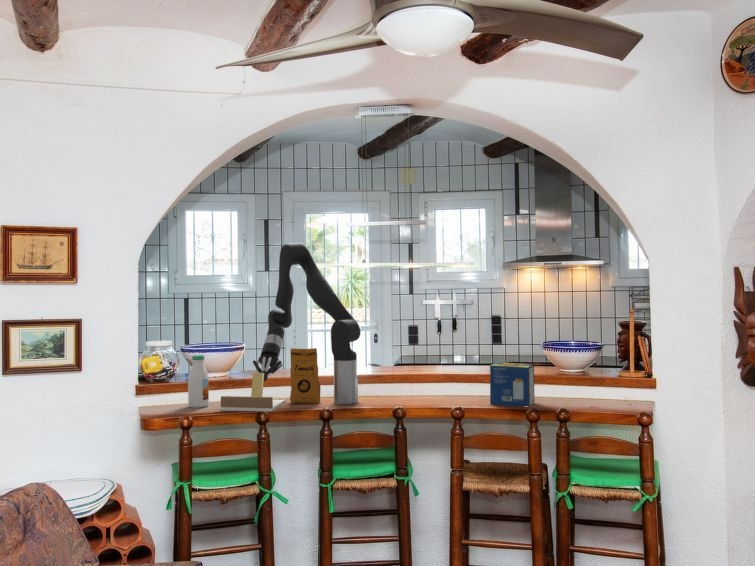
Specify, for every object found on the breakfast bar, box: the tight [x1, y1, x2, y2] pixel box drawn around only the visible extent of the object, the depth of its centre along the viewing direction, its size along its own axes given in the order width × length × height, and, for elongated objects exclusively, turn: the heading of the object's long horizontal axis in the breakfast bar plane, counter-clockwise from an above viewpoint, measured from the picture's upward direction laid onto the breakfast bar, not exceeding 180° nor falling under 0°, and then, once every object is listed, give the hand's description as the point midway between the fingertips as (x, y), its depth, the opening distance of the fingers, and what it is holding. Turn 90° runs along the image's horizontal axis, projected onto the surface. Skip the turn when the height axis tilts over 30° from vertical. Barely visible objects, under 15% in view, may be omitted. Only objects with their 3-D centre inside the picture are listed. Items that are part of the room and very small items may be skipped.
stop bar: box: [250, 372, 265, 397], centre depth 260 cm, size 4×2×11 cm, turn 81°
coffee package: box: [289, 347, 321, 405], centre depth 263 cm, size 10×12×22 cm
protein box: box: [489, 361, 536, 407], centre depth 258 cm, size 10×15×16 cm
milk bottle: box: [187, 354, 210, 409], centre depth 257 cm, size 8×8×20 cm
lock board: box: [220, 395, 286, 412], centre depth 255 cm, size 20×18×5 cm
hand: (262, 380), depth 266 cm, fingers closed
